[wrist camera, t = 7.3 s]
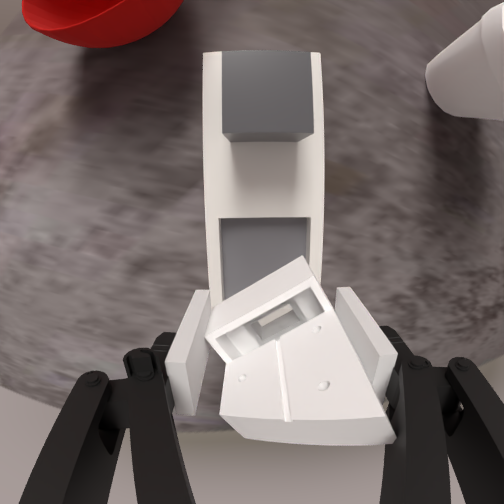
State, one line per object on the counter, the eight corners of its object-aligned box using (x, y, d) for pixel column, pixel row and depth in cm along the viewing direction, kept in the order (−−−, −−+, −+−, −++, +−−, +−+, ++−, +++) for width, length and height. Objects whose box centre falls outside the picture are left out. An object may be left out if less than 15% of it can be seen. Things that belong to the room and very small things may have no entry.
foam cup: (396, 85, 21) (490, 44, 9) (429, 27, 19) (507, -20, 7) (464, 150, 23) (564, 156, 10) (490, 89, 21) (576, 75, 8)
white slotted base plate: (216, 330, 28) (204, 385, 20) (206, 60, 21) (188, 20, 13) (312, 328, 28) (330, 381, 20) (315, 60, 21) (340, 21, 13)
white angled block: (415, 283, 14) (399, 443, 7) (266, 322, 20) (196, 429, 13) (390, 221, 13) (364, 377, 6) (236, 278, 19) (148, 382, 12)
